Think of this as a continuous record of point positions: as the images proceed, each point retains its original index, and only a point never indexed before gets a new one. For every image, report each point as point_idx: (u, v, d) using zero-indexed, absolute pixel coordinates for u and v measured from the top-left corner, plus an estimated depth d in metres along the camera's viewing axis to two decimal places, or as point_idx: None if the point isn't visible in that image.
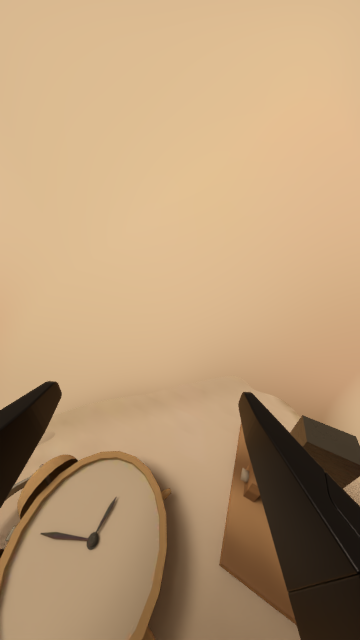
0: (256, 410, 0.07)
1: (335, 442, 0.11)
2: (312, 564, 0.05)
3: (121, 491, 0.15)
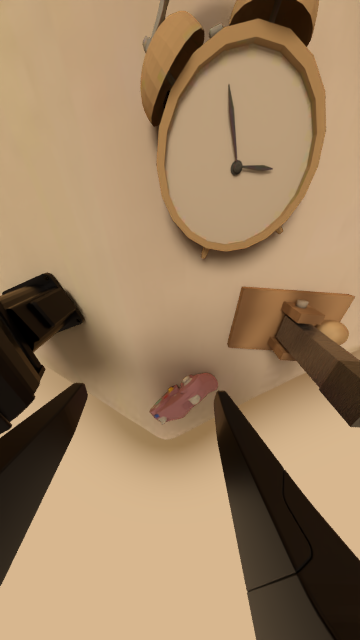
0: (226, 408, 0.07)
1: None
2: (265, 563, 0.04)
3: (277, 172, 0.12)
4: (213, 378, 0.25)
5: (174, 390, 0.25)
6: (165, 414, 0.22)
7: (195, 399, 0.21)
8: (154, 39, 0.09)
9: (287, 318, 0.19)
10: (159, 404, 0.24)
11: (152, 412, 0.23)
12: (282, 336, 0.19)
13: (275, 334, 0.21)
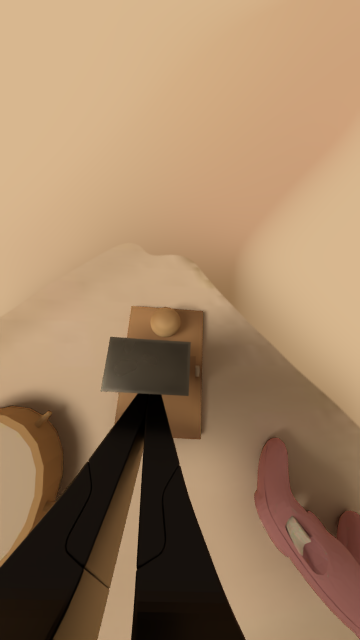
0: (151, 405, 0.07)
1: (151, 369, 0.06)
2: None
3: None
4: (266, 451, 0.15)
5: None
6: (358, 624, 0.10)
7: (297, 532, 0.11)
8: None
9: None
10: None
11: None
12: None
13: None
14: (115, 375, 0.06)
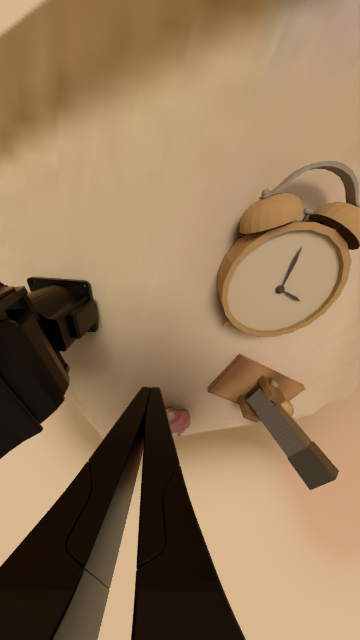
0: (151, 405, 0.07)
1: None
2: None
3: (301, 303, 0.17)
4: (189, 416, 0.29)
5: None
6: None
7: (173, 435, 0.25)
8: (275, 205, 0.12)
9: (262, 392, 0.24)
10: None
11: None
12: (254, 403, 0.25)
13: (245, 394, 0.27)
14: None
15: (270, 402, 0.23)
